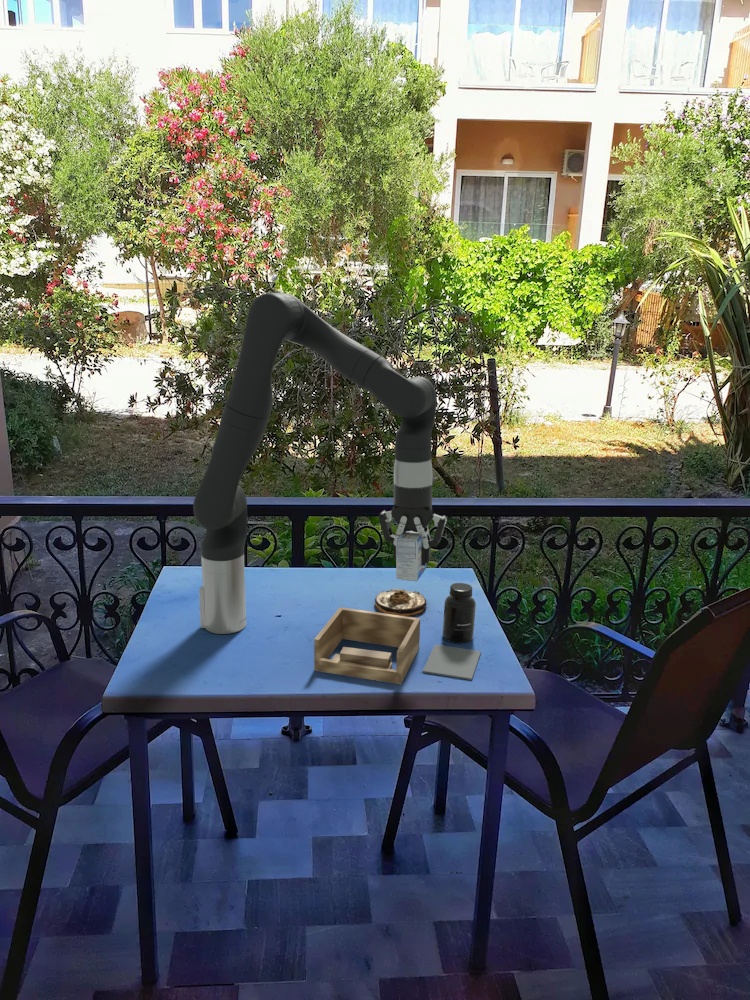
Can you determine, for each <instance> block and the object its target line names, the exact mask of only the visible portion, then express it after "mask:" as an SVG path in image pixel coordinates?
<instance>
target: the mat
mask: <svg viewBox="0 0 750 1000" xmlns="http://www.w3.org/2000/svg"><path fill="white" fill-rule="evenodd" d="M481 654H482V651H481V650H475V649H474V650H473V649H467V648H461V647H455V646H454V647H453V646H447V645H441V644H434V645H433V647H432V649H431V653H430V654H429V656H428V658H427V660H426V663H425V665H424V667H423V669H422V673H423V674H428V675H430V674H431V675H435V674H436V676H441V675H442V676H444V677H448V678H455V679H460V678H461V679H462V680H468V681H472V680H473V678H474V675H475V671H476V669H477V666H478V662H479V660H480V656H481ZM461 679H460V680H461Z"/></svg>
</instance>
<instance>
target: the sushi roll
mask: <svg viewBox="0 0 750 1000" xmlns="http://www.w3.org/2000/svg"><path fill="white" fill-rule="evenodd" d="M426 602H427V599H426V598H425V596H424V594H422V593H420V591H417V590H414V591H412V590H411V589H410V591H409V590H407V589H406V590H405V589H404V588H403V589H401V588H399V589H398V588H390V590H386V591H385V590H382V591H380V592H379V593H377V594H376V596H375V598H374V603H375V604H374V607H376V608H377V609H378V611H380V613H385V614H392V615H399V616H406V617H413V616H418V615H421V614H422V612H423V611H425V609H426V608H427V605H428V603H426Z"/></svg>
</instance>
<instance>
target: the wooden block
mask: <svg viewBox="0 0 750 1000" xmlns="http://www.w3.org/2000/svg"><path fill="white" fill-rule="evenodd" d="M331 660H337V661H344V662H350V663H356V664H363V665H369V666H375V667H381V668H388V669H393V662H392V652H389V651H381V650H380V651H379V650H373V649H372V650H371V649H364V648H356V647H347V646H343V647H342V649H341V650H340V652H339V653H335V654H334V655H333V657H332V658H331Z"/></svg>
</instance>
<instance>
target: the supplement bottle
mask: <svg viewBox="0 0 750 1000" xmlns="http://www.w3.org/2000/svg"><path fill="white" fill-rule="evenodd" d="M476 605H477V603H476V601H475V599H474V598H473V586H472V585H471V584H469V583H464V582H454V583H452V584H451V585H450V586H449V595H447V597H446V598H445V600H444V607H443V622H442V637H443V638H444V639H446V641H449V642H451V643H456V644H464V643H469V642H470V641H471V640H473V638H474V631H475V620H476V619H475V618H476V609H477V608H476Z"/></svg>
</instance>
